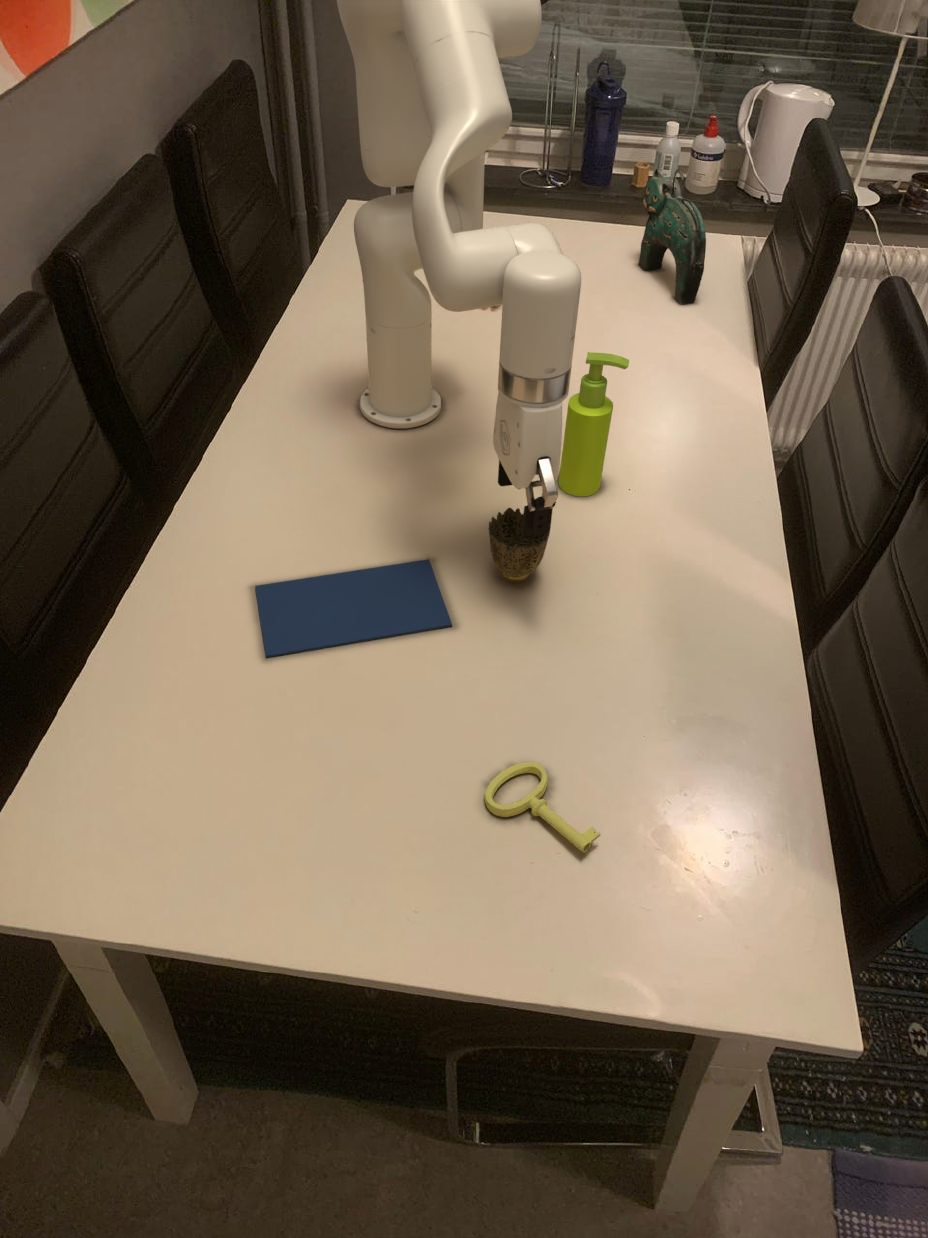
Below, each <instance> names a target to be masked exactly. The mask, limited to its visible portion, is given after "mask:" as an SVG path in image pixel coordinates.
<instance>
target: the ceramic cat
mask: <svg viewBox="0 0 928 1238" xmlns="http://www.w3.org/2000/svg"><path fill="white" fill-rule="evenodd" d="M677 173H679V176H680V179H681V181H682V182H684V181H685V177H684V174H683V171H682V169H680V168H676V169H675V172H674V175H673V176H663V175H662V174H661V173H660V171H659V169H658V168H655V171H654V173H653V176H652V177H651V178H649V179H648V180H647V181H646V183H645V187H644V192H643V199H642V204H643V208H644V210H645V211H646V213H647V214H648V218H647V220H646V223H645V228H644V231H643V237H642V240H641V243H640V253H639V257H638V258H639V259H638V266H639V268H641V269H642V270H643V271H645V272H654V271H661V270H662V267H663V261H664V257H665V255H666V252H667V250H669V251H670V252H671V255H672V257H673V259H674V263H675V285H674V286H675V287H674V300H675V301H676V302H677V303H678V304H680V305H688V304H693V303H695V301H696V298H697V295H698V292H699V289H700V286H701V282H702V280H703V275H704V271H705V260H706V251H707V250H706V249H707V234H706V233H707V232H706V226H705V223H704V219H703V217H702V214H701V212H700V210H699V209H698V208H697V206H696V205H695V203H694V202H693V201H691V199H688V198H684V197H683V196H682V191H681V186H680V183H679V181H678V179H677V178H676V177H677V176H676V175H677Z"/></svg>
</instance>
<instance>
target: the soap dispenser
mask: <svg viewBox="0 0 928 1238" xmlns="http://www.w3.org/2000/svg"><path fill="white" fill-rule="evenodd" d="M585 364H586V365H589V370H588V373H586V374H583V376H582V377H581V379H580V385H579V392H578V393H577V392H576V393H575V394H572V396H571V397H569V399H568V402H567V411H566V419H565V426H564V436H563V444H562V449H561V457H560V465H559V473H558V486H559V488H560V489H561V490H562V491H563V492H564V493H565V494H568V495H571V496H575V497H588V496H592V495H595V494H596V493H597V492H598V491H599V490H600V487H601V482H602V476H603V471H604V465H605V458H606V451H607V446H608V439H609V436H610V435H609V434H610V427H611V422H612V416H613V411H614V410H613V409H614V403H613V401H612V399H610V398H609V397H608V396H607V395H606V394H607V393H606V392H607V387H608V378H606V377H605V376H604V375H603V370H604V366H607V367H608V366H610V367H616V368H618V369H622V370H626V369H628V368H629V365H630V359H628V358H626V357H623V356H621V355H617V354H613V353H605V352H592V351H591V352H590V351H589V352H587V353H586V358H585Z"/></svg>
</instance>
